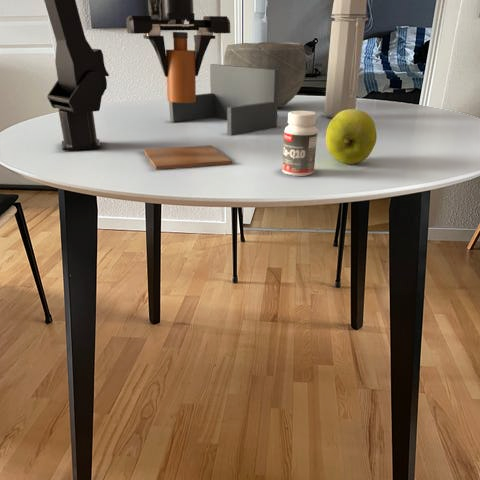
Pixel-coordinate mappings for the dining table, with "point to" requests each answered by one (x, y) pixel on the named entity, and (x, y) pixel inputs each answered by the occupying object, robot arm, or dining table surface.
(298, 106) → the dining table surface
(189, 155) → the wooden square board
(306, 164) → the pill bottle
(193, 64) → the amber bottle
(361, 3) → the water bottle
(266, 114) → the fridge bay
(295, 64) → the bowl
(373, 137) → the apple
